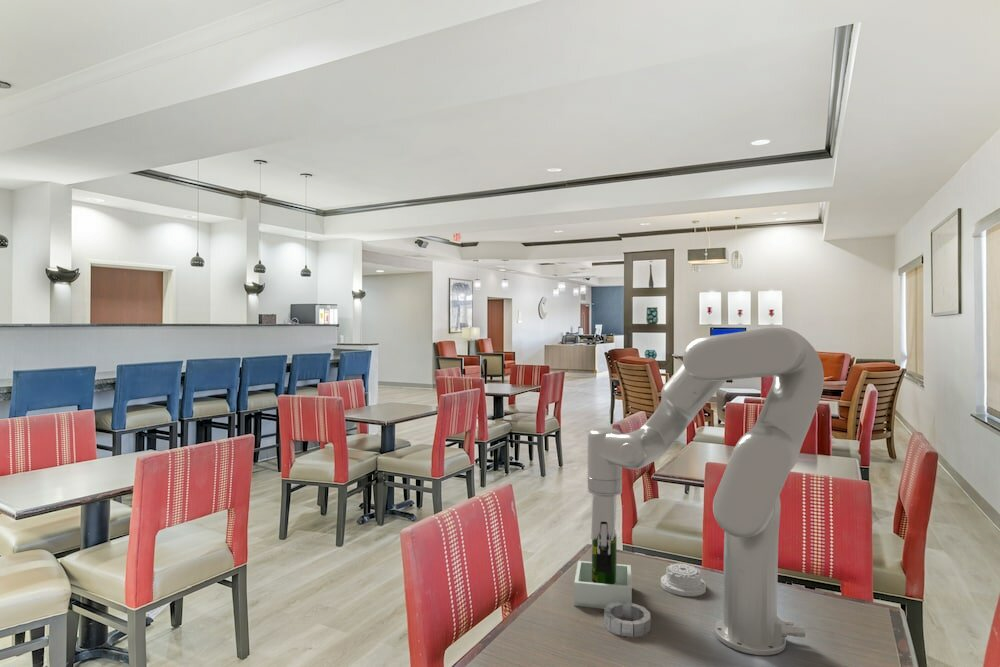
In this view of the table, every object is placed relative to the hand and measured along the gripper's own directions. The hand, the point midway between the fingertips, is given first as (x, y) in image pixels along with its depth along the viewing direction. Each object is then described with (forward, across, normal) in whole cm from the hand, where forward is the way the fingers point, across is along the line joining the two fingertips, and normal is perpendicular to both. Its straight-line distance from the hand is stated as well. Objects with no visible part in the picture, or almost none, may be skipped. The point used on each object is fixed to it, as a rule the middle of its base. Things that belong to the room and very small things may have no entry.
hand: (604, 565), depth 129 cm
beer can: (+4, 0, 0) cm, 4 cm away
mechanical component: (+7, -9, +18) cm, 21 cm away
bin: (+7, 0, 0) cm, 7 cm away
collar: (+7, +12, +5) cm, 15 cm away
